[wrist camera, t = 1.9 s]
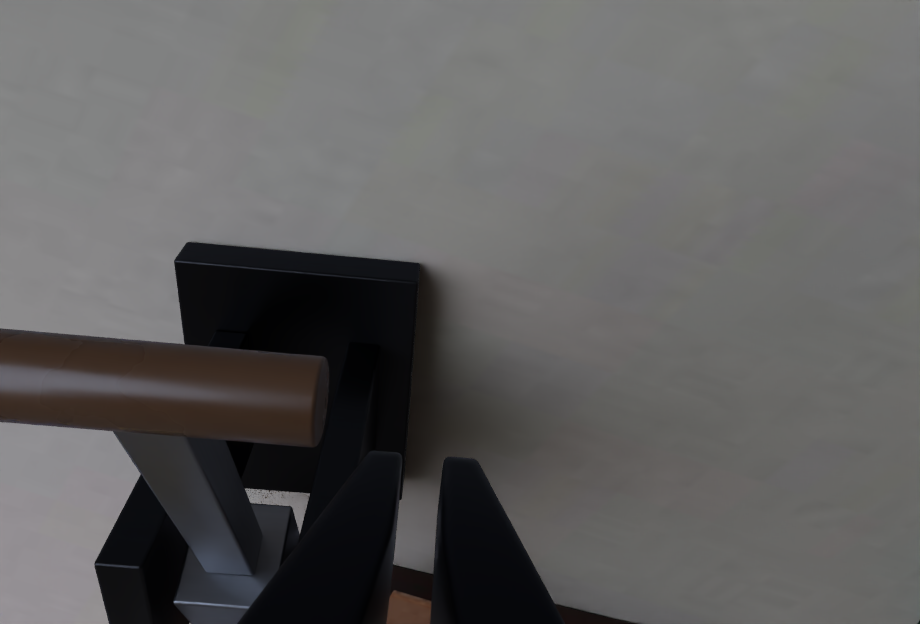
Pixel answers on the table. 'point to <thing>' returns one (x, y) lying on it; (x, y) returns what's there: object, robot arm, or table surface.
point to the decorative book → (415, 597)
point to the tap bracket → (284, 331)
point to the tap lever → (181, 440)
